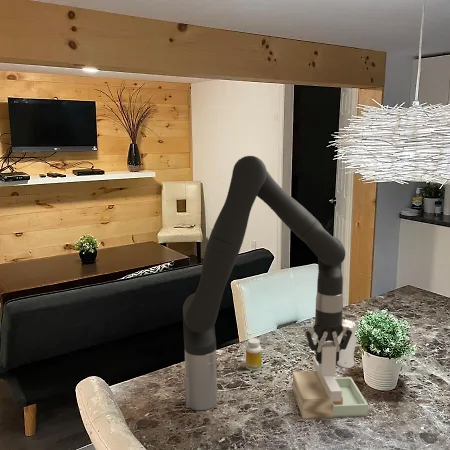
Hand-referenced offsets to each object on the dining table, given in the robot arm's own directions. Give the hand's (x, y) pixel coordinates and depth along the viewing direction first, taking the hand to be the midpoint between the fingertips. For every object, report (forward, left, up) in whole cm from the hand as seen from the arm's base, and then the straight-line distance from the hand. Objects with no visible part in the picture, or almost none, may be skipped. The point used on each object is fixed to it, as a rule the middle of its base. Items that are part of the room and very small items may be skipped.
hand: (326, 362), depth 133 cm
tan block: (-4, 0, -13) cm, 14 cm away
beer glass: (+13, +23, -13) cm, 29 cm away
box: (+5, 0, -13) cm, 14 cm away
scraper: (0, 0, -6) cm, 6 cm away
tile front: (+1, -4, -10) cm, 11 cm away
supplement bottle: (-19, +23, -13) cm, 32 cm away
